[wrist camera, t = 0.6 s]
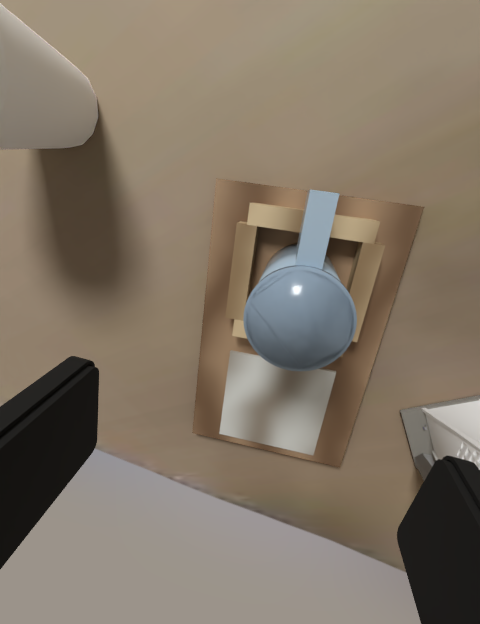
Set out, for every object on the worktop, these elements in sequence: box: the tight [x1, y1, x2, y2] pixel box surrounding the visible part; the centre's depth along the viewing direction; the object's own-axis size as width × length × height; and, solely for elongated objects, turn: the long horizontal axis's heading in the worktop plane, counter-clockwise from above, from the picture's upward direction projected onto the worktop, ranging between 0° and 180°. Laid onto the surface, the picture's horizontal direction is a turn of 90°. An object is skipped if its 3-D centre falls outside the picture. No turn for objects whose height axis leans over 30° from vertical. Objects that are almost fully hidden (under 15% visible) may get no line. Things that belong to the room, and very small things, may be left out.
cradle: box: [225, 202, 385, 357], centre depth 27 cm, size 11×11×2 cm
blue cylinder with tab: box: [243, 190, 357, 371], centre depth 22 cm, size 10×6×10 cm, turn 172°
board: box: [192, 178, 424, 467], centre depth 30 cm, size 16×26×2 cm, turn 172°
